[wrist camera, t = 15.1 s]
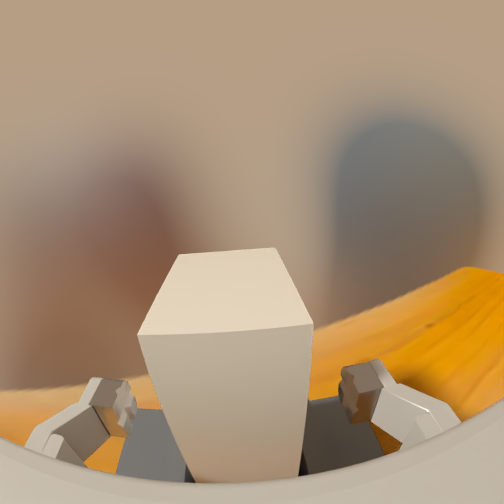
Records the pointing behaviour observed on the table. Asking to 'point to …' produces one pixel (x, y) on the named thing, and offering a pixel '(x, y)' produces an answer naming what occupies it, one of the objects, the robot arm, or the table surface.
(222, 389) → the tall cream pillar block
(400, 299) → the table surface
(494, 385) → the table surface
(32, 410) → the table surface
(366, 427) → the socket holder
